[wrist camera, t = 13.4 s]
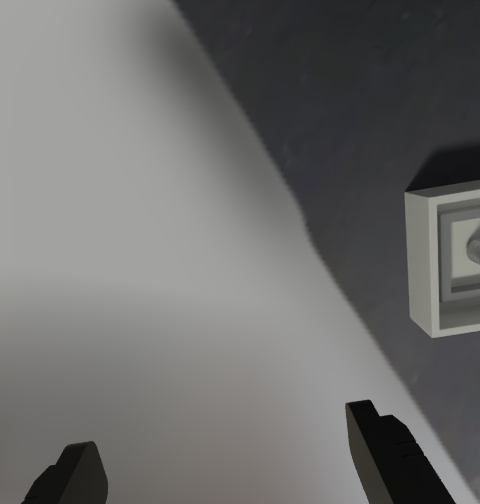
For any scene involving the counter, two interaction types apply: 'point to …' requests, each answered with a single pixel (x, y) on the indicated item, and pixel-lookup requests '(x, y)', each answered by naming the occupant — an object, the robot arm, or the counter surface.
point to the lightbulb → (474, 251)
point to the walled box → (443, 258)
